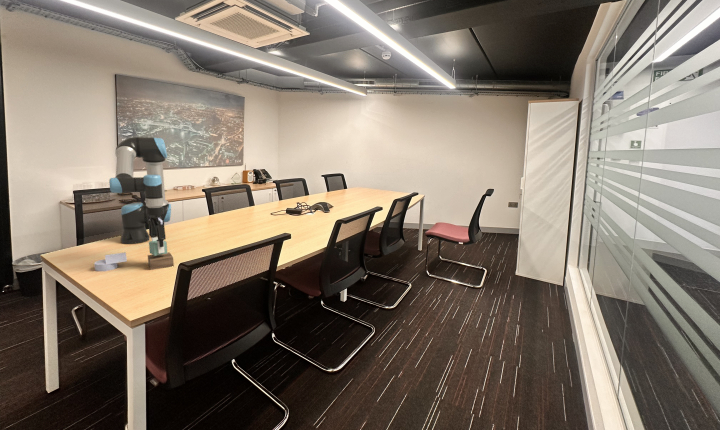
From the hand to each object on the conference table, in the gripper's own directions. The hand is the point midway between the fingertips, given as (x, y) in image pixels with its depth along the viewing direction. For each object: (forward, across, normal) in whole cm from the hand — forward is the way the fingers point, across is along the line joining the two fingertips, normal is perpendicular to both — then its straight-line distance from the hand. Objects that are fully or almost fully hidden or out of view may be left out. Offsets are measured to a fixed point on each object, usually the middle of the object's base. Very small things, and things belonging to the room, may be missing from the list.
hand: (158, 251), depth 179 cm
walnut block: (+8, 0, 0) cm, 8 cm away
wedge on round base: (+8, -13, -17) cm, 23 cm away
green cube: (+1, 0, 0) cm, 1 cm away
